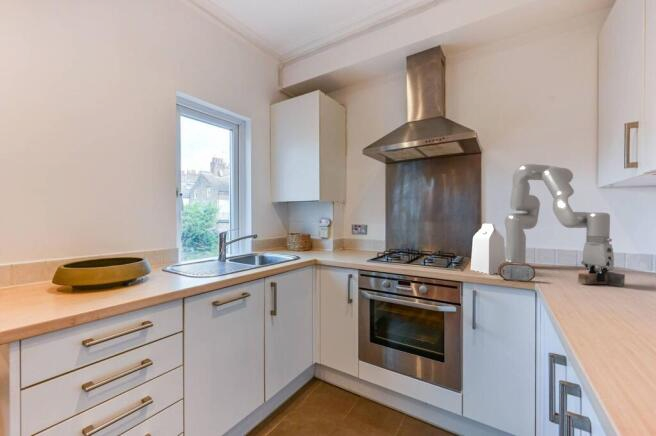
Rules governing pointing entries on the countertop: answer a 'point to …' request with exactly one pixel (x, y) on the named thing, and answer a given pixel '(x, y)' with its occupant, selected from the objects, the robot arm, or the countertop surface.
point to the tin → (516, 271)
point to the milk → (487, 250)
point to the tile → (583, 271)
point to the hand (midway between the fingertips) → (596, 280)
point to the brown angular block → (609, 278)
